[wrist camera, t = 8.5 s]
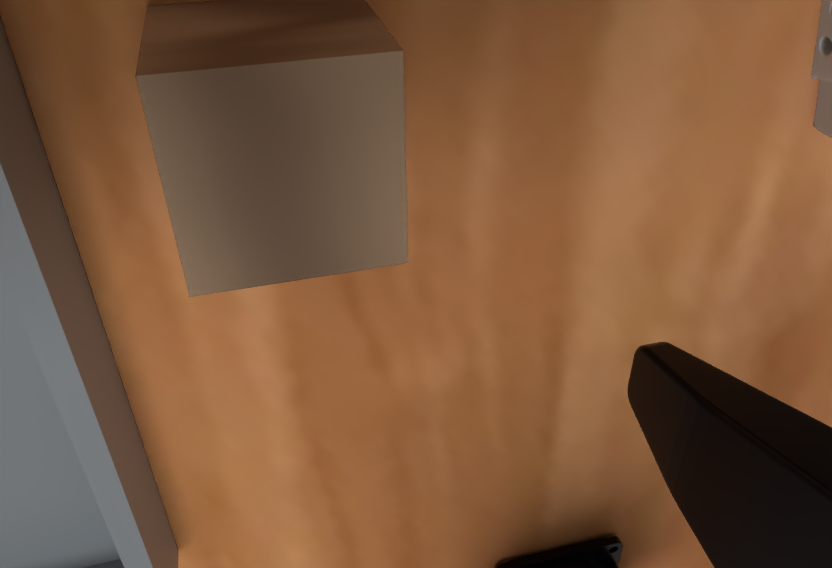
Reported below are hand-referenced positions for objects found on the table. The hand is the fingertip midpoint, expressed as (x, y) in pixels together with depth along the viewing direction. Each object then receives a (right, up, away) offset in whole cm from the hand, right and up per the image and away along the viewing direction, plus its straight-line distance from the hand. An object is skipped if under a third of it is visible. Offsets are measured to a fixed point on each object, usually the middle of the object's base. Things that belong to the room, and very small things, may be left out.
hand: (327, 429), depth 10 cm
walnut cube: (-3, +7, +9) cm, 12 cm away
